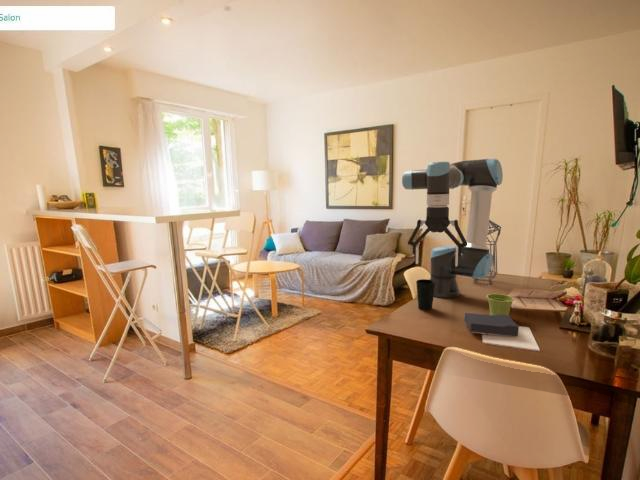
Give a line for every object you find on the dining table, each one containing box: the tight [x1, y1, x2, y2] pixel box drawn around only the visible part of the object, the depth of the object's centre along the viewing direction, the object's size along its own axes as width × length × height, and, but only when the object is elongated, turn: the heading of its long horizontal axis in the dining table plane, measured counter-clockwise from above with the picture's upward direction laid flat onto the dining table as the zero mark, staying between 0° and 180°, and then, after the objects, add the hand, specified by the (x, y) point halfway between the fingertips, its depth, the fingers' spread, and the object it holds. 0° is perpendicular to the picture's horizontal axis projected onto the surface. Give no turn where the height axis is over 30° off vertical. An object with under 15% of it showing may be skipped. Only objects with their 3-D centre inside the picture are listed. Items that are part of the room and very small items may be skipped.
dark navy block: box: [464, 312, 520, 337], centre depth 118 cm, size 11×4×15 cm
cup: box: [415, 278, 435, 312], centre depth 141 cm, size 8×8×12 cm
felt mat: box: [481, 325, 541, 352], centre depth 114 cm, size 18×16×1 cm
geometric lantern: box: [471, 219, 502, 285], centre depth 176 cm, size 16×16×35 cm
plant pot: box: [486, 293, 515, 317], centre depth 128 cm, size 9×9×9 cm
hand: (436, 264), depth 120 cm, fingers open, 13 cm apart
